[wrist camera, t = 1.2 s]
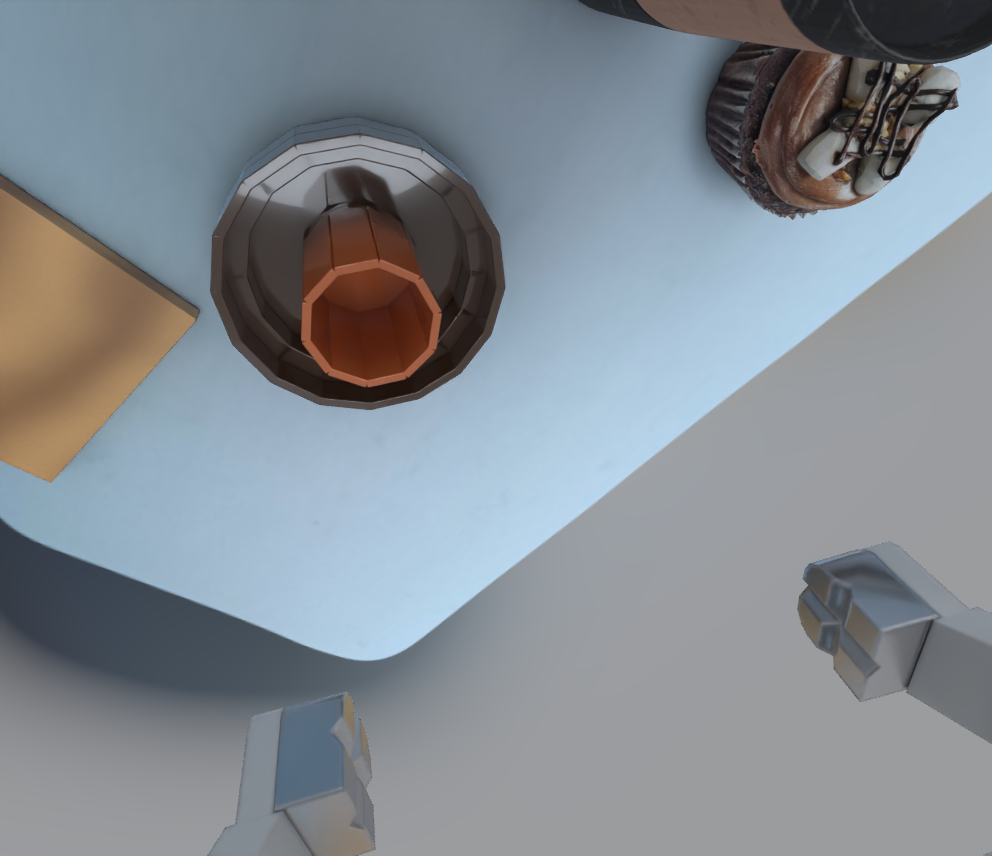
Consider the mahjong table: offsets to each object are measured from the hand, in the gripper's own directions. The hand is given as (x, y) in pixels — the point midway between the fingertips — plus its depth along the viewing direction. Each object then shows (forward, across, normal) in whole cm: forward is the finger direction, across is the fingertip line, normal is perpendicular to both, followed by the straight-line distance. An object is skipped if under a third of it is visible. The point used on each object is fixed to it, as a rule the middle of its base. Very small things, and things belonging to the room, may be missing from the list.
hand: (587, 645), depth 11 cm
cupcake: (+28, -21, -3) cm, 35 cm away
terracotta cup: (+28, +3, +1) cm, 28 cm away
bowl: (+28, +3, +1) cm, 28 cm away
